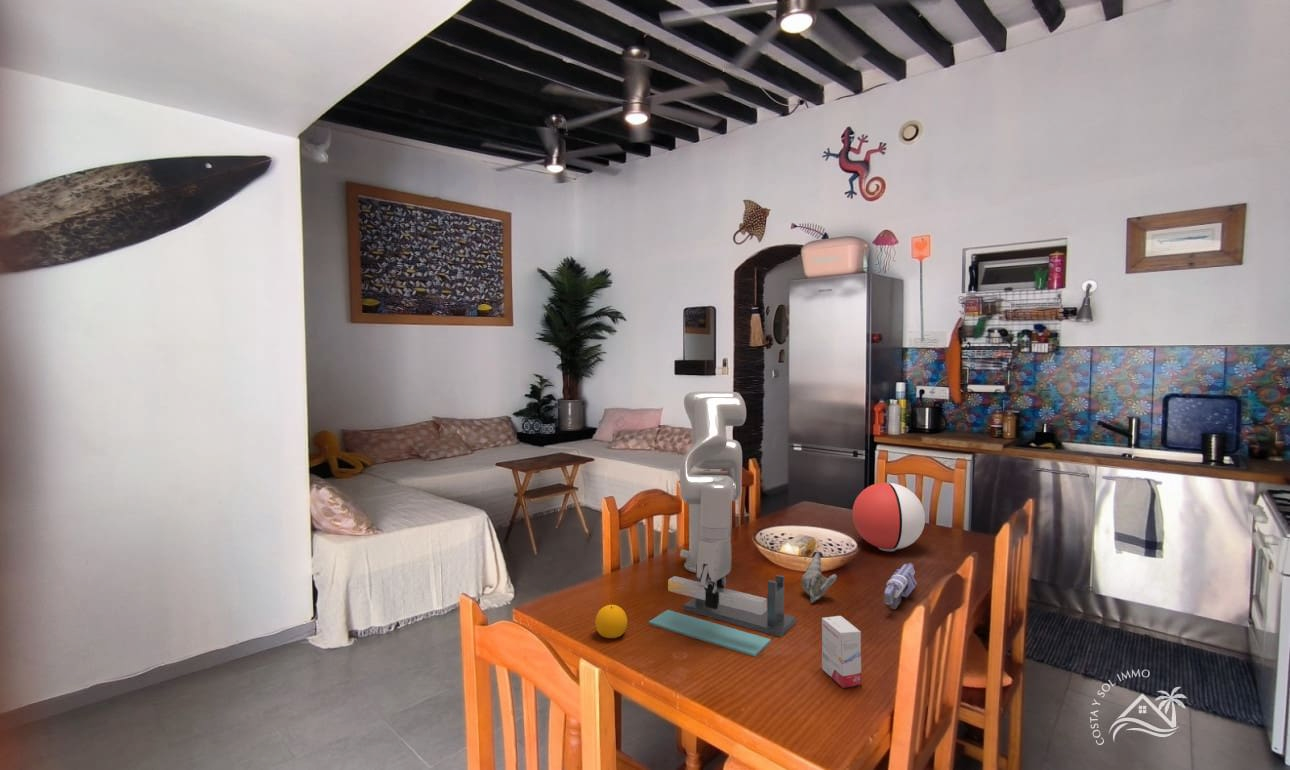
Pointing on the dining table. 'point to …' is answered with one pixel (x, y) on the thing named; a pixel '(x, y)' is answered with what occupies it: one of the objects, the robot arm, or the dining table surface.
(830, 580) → the seashell
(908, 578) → the toy gun
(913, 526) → the ball
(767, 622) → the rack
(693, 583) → the rail
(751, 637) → the mat
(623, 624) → the yellow orange fruit
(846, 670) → the ink box
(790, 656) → the dining table surface
